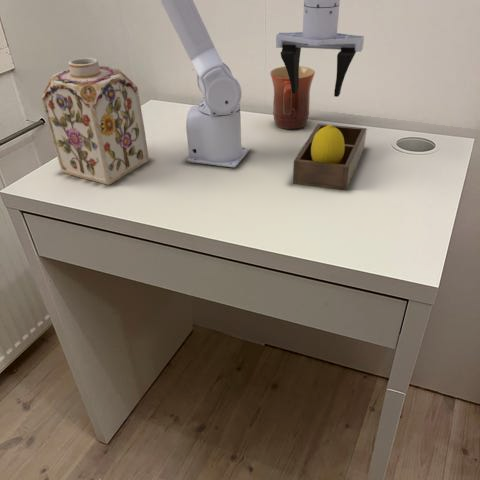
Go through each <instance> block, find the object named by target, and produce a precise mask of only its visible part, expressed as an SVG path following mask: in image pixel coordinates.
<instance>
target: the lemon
mask: <svg viewBox="0 0 480 480" xmlns="http://www.w3.org/2000/svg"><path fill="white" fill-rule="evenodd" d="M332 125H333V124H327V126H326V127H323V128H321V129H320V130H319V131H318V132H317V133H316V134H315V136H314V138H313V141H312V145H311V156H312V160H313V161H317V162H326V163H334V164H339V163H340V162H341V160H342V158H343V155H344V150H345V144H344V137H343V135H342V133H341V132H340V130H338V129H337V128H335V127H333V126H332Z"/></svg>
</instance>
